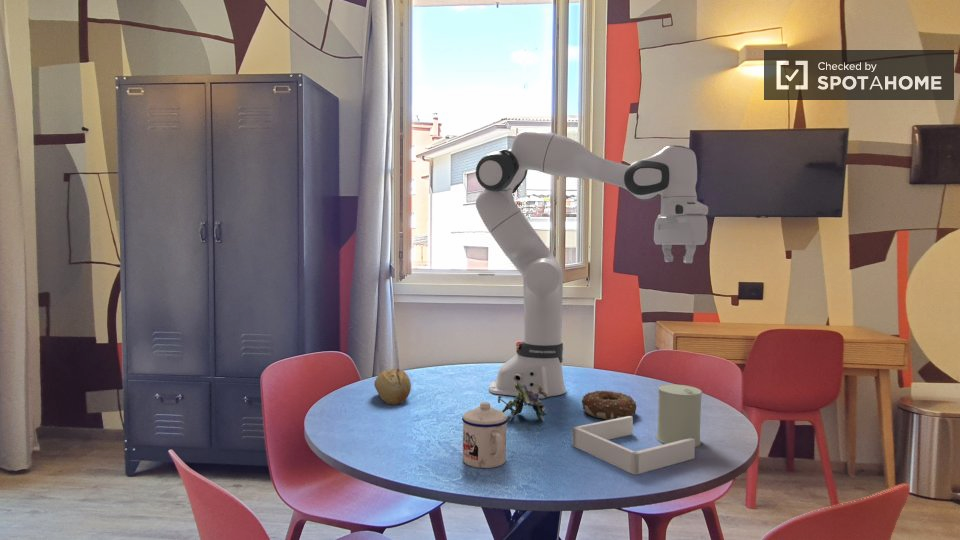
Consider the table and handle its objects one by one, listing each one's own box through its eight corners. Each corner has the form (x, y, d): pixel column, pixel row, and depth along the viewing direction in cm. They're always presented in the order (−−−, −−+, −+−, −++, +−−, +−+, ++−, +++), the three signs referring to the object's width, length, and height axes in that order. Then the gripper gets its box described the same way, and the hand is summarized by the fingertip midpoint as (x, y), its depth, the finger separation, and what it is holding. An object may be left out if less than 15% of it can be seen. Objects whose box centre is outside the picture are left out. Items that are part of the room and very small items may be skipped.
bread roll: (402, 390, 169) (403, 363, 169) (416, 404, 155) (416, 375, 155) (369, 393, 166) (369, 365, 165) (380, 408, 152) (381, 377, 151)
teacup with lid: (454, 455, 119) (455, 399, 118) (495, 449, 123) (495, 395, 122) (478, 478, 108) (479, 416, 107) (522, 470, 112) (523, 410, 111)
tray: (629, 432, 134) (629, 415, 134) (694, 458, 119) (694, 439, 119) (572, 445, 126) (572, 427, 125) (634, 475, 110) (635, 454, 110)
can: (679, 450, 124) (680, 394, 123) (647, 437, 132) (649, 384, 131) (709, 443, 128) (711, 389, 127) (677, 431, 136) (679, 380, 136)
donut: (571, 409, 153) (572, 390, 153) (616, 404, 158) (616, 386, 158) (601, 426, 140) (602, 405, 140) (649, 420, 145) (649, 400, 145)
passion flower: (539, 443, 143) (559, 411, 136) (498, 439, 139) (516, 406, 133) (528, 406, 151) (547, 375, 145) (490, 402, 148) (507, 369, 141)
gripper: (648, 211, 161) (647, 261, 161) (688, 206, 141) (688, 264, 141) (669, 211, 162) (668, 261, 163) (712, 206, 142) (711, 263, 143)
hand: (678, 262), depth 152 cm, fingers open, 8 cm apart
